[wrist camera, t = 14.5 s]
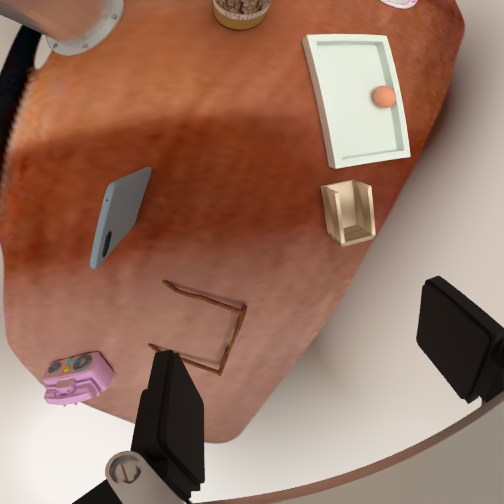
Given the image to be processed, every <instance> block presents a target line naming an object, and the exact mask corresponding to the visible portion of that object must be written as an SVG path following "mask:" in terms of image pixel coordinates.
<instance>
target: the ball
mask: <svg viewBox="0 0 504 504" xmlns="http://www.w3.org/2000/svg"><path fill="white" fill-rule="evenodd" d="M373 97H374V100H375V102H376V103H377V104H378V105H379V106H381V107H383V108H389V107H391V106H393V105H394V103H395V102H396V94H395V92H394V91H393V90H392V89H391V88H390V87H388V86H384V85H383V86H379V87H377V88H376V89H375V90H374V93H373Z"/></svg>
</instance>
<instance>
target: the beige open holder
mask: <svg viewBox="0 0 504 504" xmlns="http://www.w3.org/2000/svg"><path fill="white" fill-rule="evenodd" d="M321 191H322V197H323V204H324V210H325V217H326V224H327V231H328V235H330V236H331V237H332V238H333V239H334V240H335V241H336V242H337V243H338V244H339V245H340V246H341V247H344V246H348V245H351V244H355V243H359V242H363V241H366V240H370V239H374V238H376V236H375V222H374V210H373V200H372V190H371V186H369V185H367V184H364V183H361V182H359V181H356V180H349V181H344V182H339V183H334V184H329V185H325V186H321Z"/></svg>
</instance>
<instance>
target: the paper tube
mask: <svg viewBox="0 0 504 504" xmlns="http://www.w3.org/2000/svg"><path fill="white" fill-rule="evenodd" d="M271 1H272V0H213V8H214V15H215V17H216V19H217V20H218V21H219V22H220V23H221V24H222V25H224V26H226V27H228V28H231V29H237V30H243V29H249V28H252V27H254V26H256V25H258V24H259V23H260V22H261V21H262V20H263V19H264V17H265V15H266V12H267V10H268V8H269V6H270V4H271Z"/></svg>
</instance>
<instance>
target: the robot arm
mask: <svg viewBox="0 0 504 504" xmlns="http://www.w3.org/2000/svg"><path fill="white" fill-rule="evenodd" d="M123 10H124V0H0V15H3V16H4V17H7V18H9V19H12V20H14V21H16V22H18V23H20V24H23V25H25V26H27V27H29V28H31V29H33V30H35V31H38V32H40V33H42V34H44V35H46V38H47V43H48V45H49V47H50V48H51V49H52V50H53V51H54V52H56V53H57V54H60V55H64V56H75V55H79V54H82V53H85V52H87V51H89V50H91V49H93V48H95V47H96V46H98V45H99V44H100V43H102V42H103V41H104V40H105V39H106V38H107V37H108V36H109V35H110V34H111V33H112V32H113V30H114V29H115V28H116V26H117V25H118V23H119V21H120V19H121V17H122V14H123ZM115 17H117V18H116V19H115V20H114V18H115ZM56 45H58V46H57V47H56ZM86 45H88V47H87V48H85V46H86ZM416 340H417V343H418V345H419V346H420V348H421V349H422V350H423V351H424V353H425V354H426V355H427V356H428V358H429V359H430V360H431V361H432V363H433V364H434V365H435V366H436V368H437V369H438V370H439V371H440V372H441V374H442V375H443V376H444V378H445V379H446V380H447V381H448V383H449V384H450V385H451V387H452V388H453V389H454V390H455V392H456V393H457V394H458V396H459V397H460V398H461V399H465V400H466V401H467V403H468V404H469V403H471V402H472V401H474V400H475V399H477V398H478V397H479V396H480V397H481V398H482V405H481V407H480V408H478V409H477V410H475V411H474V412H472V413H470V414H469V415H467V416H466V417H464V418H463V419H461V420H459V421H458V422H456V423H454V424H453V425H451V426H449V427H448V428H446V429H444V430H442V431H441V432H439V433H437V434H435V435H433V436H431V437H429V438H428V439H426V440H424V441H422V442H420V443H418V444H416V445H414V446H412V447H409V448H407V449H405V450H403V451H401V452H399V453H396V454H394V455H392V456H389V457H387V458H385V459H383V460H380V461H377V462H375V463H373V464H370V465H367V466H365V467H362V468H359V469H356V470H354V471H351V472H348V473H345V474H342V475H339V476H335V477H332V478H329V479H326V480H322V481H319V482H315V483H311V484H308V485H304V486H300V487H295V488H291V489H287V490H282V491H277V492H272V493H267V494H261V495H255V496H249V497H243V498H236V499H228V500H219V501H211V502H203V503H192V501H191V500H189V498H191V491H200V484H201V483H204V481H205V468H204V404H203V401H202V398H201V396H200V395H199V393H198V391H197V389H196V387H195V385H194V383H193V381H192V379H191V377H190V375H189V373H188V372H187V370H186V368H185V366H184V364H183V361H182V359H181V357H180V355H179V354H178V353H174V352H173V351H172V350H166V351H160V352H156V353H155V356H154V361H153V365H152V370H151V374H150V379H149V384H148V388H147V389H145V390H144V391H143V392H142V394H141V399H140V404H139V408H138V413H137V418H136V423H135V428H134V434H133V439H132V444H131V450H130V451H124V452H120V453H118V454H116V455H114V456H113V457H112V458H111V459H110V460H109V461H108V463H107V465H106V468H105V476H106V478H107V479H106V480H104V481H103V482H102V483H100V484H99V485H98V486H96V487H95V488H93V489H92V490H91V491H89V492H88V493H86V494H85V495H84V496H82V497H81V498H79V499H78V500H76V501H75V502H74V503H72V504H504V328H503V327H502V326H501V325H500V324H498V323H497V322H496V321H495V320H494V319H493V318H491V317H490V316H489V315H488V314H487V313H485V312H484V311H483V310H482V309H481V308H480V307H478V306H477V305H476V304H475V303H474V302H472V301H471V300H470V299H469V298H467V297H466V296H465V295H464V294H462V293H461V292H460V291H459V290H457V289H456V288H455V287H454V286H452V285H451V284H450V283H448V282H447V281H446V280H445V279H443V278H441V277H440V276H436V277H433V278H431V279H428V280H426V281H425V285H423V287H422V295H421V305H420V314H419V323H418V330H417V337H416Z"/></svg>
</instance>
